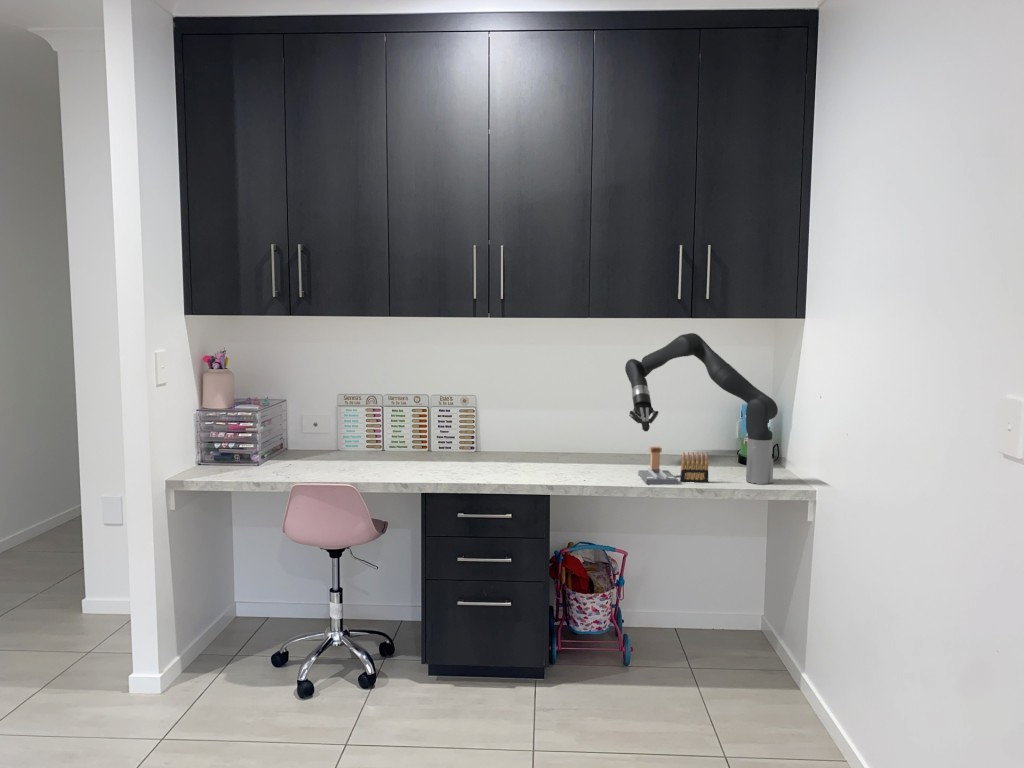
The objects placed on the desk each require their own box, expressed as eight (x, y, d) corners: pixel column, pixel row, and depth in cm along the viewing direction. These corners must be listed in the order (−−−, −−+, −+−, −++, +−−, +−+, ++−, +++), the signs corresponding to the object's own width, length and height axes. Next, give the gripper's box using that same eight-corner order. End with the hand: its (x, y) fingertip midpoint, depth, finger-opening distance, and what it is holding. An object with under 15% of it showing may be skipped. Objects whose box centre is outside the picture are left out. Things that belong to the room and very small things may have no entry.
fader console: (667, 475, 323) (667, 467, 323) (677, 484, 307) (677, 476, 307) (638, 475, 322) (638, 467, 322) (646, 484, 307) (646, 476, 306)
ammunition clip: (707, 481, 312) (708, 451, 311) (708, 483, 310) (709, 452, 309) (680, 481, 313) (680, 451, 311) (680, 482, 311) (681, 452, 309)
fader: (659, 470, 321) (660, 446, 320) (661, 472, 318) (661, 448, 317) (648, 470, 321) (649, 446, 320) (650, 472, 318) (650, 448, 317)
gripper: (627, 392, 343) (632, 425, 332) (657, 392, 344) (663, 425, 333) (624, 402, 349) (629, 435, 338) (654, 403, 350) (660, 435, 339)
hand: (646, 430), depth 336 cm, fingers closed
